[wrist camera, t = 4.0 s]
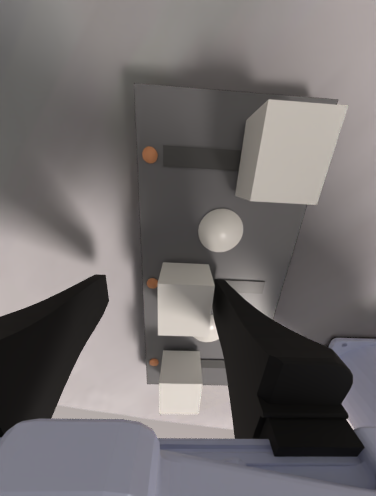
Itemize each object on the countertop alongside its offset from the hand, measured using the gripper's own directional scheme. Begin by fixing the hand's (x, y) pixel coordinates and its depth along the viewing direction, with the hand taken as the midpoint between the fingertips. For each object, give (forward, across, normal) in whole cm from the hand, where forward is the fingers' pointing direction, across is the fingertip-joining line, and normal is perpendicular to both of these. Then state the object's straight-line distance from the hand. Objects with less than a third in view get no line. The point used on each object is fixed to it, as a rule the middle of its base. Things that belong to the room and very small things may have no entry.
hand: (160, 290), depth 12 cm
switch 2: (0, -2, +8) cm, 8 cm away
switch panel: (+2, -4, 0) cm, 4 cm away
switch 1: (+1, -2, 0) cm, 2 cm away
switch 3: (+1, -6, -8) cm, 10 cm away
